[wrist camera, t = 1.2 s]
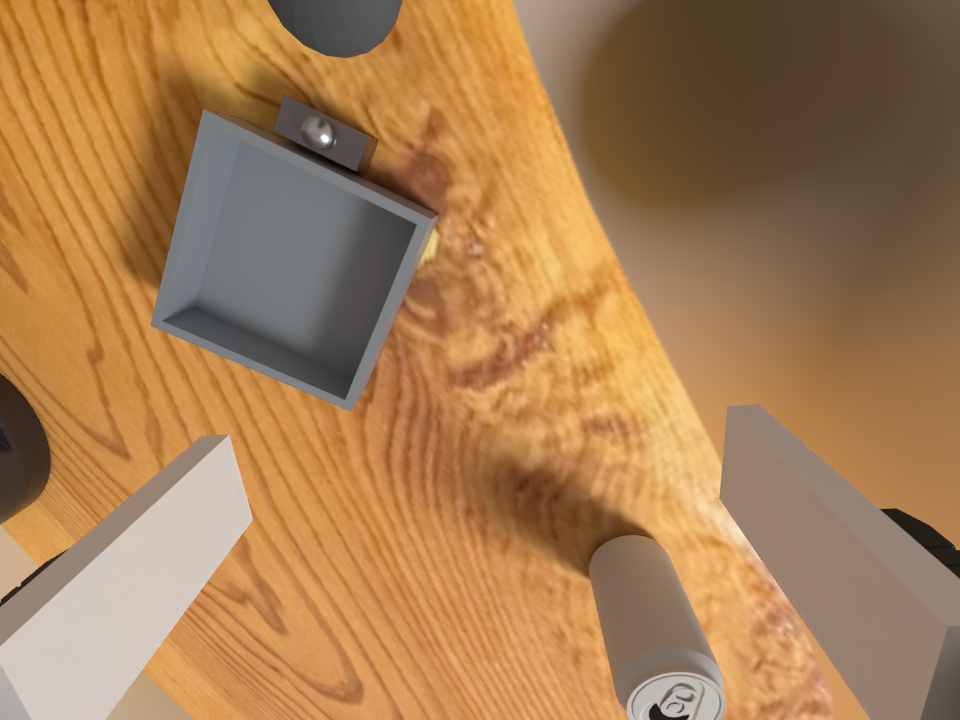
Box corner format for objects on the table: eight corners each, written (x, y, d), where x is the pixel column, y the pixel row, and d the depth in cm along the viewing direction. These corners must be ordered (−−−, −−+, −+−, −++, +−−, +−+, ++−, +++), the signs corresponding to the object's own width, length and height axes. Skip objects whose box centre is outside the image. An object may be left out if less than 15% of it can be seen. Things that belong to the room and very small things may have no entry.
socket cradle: (290, 135, 30) (266, 129, 27) (379, -155, 26) (362, -202, 22) (366, 172, 31) (351, 171, 28) (467, -105, 26) (462, -144, 23)
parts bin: (188, 309, 34) (150, 325, 31) (240, 118, 30) (203, 109, 26) (366, 387, 36) (350, 411, 32) (439, 214, 32) (431, 219, 28)
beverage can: (573, 576, 41) (601, 727, 30) (610, 517, 39) (654, 655, 27) (643, 602, 41) (696, 760, 30) (682, 544, 39) (755, 691, 28)
